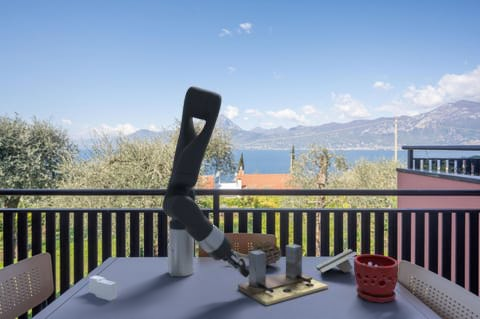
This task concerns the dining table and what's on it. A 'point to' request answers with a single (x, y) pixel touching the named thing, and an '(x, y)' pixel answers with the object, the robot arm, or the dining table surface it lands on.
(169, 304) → the dining table surface
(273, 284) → the base
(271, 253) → the pine cone
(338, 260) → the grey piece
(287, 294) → the bolt plate
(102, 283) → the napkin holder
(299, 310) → the dining table surface
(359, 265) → the plant pot
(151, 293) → the dining table surface
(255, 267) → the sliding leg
